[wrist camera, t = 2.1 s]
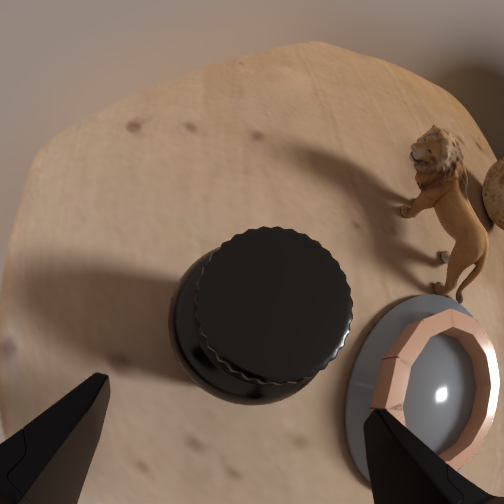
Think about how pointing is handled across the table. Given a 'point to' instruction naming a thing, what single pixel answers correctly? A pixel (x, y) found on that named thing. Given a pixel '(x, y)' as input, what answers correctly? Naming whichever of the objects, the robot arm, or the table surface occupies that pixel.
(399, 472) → the robot arm
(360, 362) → the ring tray
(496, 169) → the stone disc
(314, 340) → the supplement bottle
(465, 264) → the lion figurine
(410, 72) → the table surface
